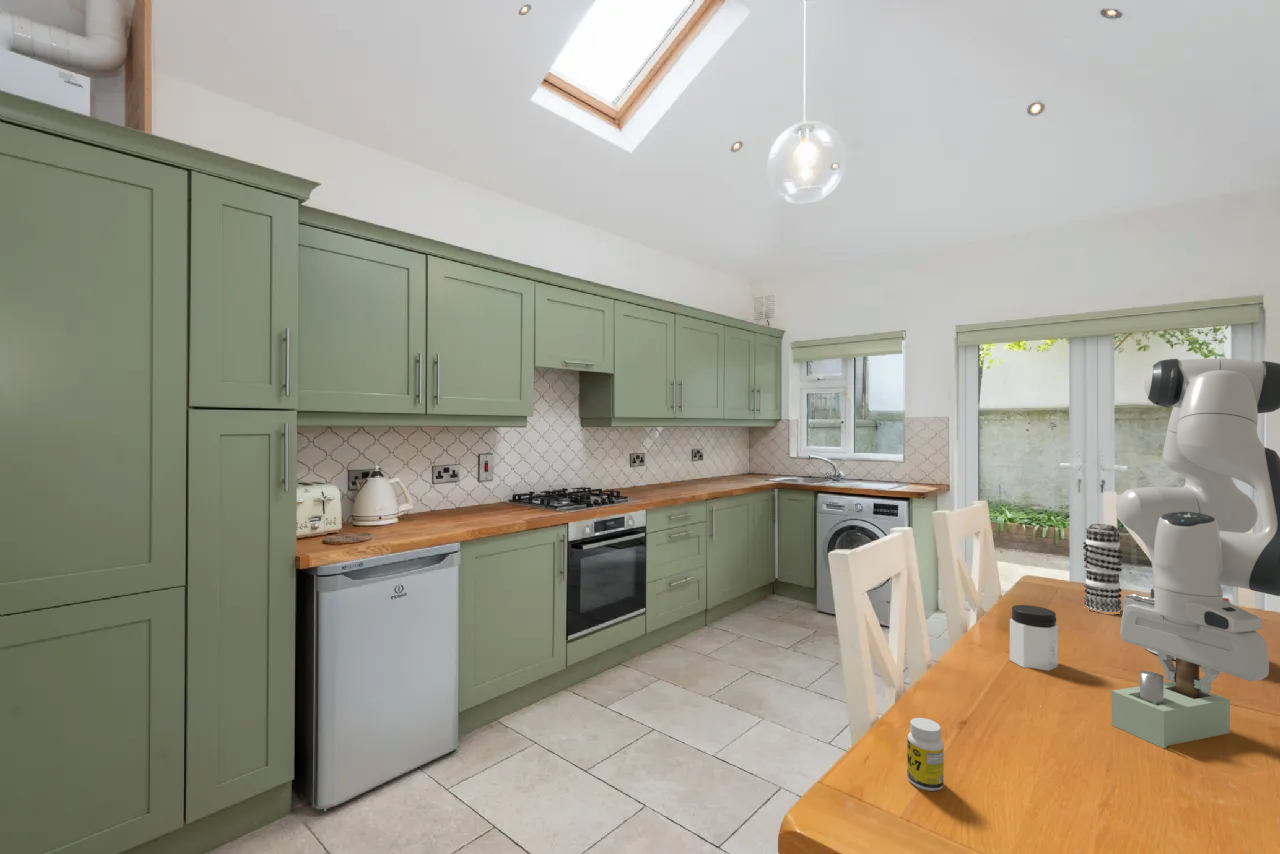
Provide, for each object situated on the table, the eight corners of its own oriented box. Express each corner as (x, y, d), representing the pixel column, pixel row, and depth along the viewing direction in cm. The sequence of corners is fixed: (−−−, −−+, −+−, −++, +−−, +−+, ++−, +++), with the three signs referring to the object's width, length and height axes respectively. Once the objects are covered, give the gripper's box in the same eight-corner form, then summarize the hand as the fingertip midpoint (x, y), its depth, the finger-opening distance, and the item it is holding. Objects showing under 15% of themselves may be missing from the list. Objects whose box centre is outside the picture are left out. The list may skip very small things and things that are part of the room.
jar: (1045, 675, 124) (1045, 618, 124) (1004, 662, 131) (1004, 608, 131) (1063, 666, 129) (1063, 611, 129) (1023, 654, 136) (1023, 602, 136)
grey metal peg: (1147, 728, 102) (1147, 670, 102) (1167, 736, 99) (1167, 677, 99) (1135, 730, 101) (1135, 671, 101) (1155, 739, 98) (1155, 678, 98)
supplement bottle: (900, 773, 87) (901, 716, 87) (931, 772, 88) (931, 715, 88) (918, 793, 82) (919, 732, 83) (950, 791, 83) (950, 731, 83)
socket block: (1175, 713, 107) (1175, 680, 107) (1230, 735, 100) (1229, 699, 100) (1111, 725, 103) (1111, 690, 103) (1163, 748, 95) (1163, 711, 95)
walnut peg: (1183, 702, 104) (1183, 645, 104) (1203, 709, 101) (1203, 651, 102) (1171, 704, 103) (1171, 647, 104) (1191, 712, 101) (1191, 653, 101)
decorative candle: (1074, 607, 175) (1074, 523, 175) (1099, 605, 177) (1099, 522, 178) (1105, 616, 166) (1105, 527, 167) (1131, 614, 168) (1131, 527, 169)
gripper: (1111, 592, 112) (1111, 665, 112) (1249, 625, 92) (1249, 714, 92) (1135, 589, 114) (1135, 661, 113) (1275, 622, 94) (1275, 709, 94)
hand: (1187, 685), depth 103 cm, fingers closed on walnut peg, 3 cm apart
